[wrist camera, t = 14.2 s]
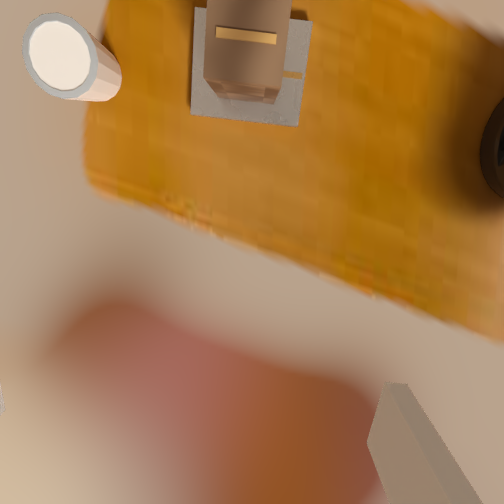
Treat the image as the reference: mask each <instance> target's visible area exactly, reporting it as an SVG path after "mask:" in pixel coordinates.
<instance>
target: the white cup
mask: <svg viewBox="0 0 504 504" xmlns="http://www.w3.org/2000/svg"><path fill="white" fill-rule="evenodd" d="M22 54H23V57H24V61H25V65H26V69H27V71H28V72H29V74H30V75H31V77H32V78H33V80H34V81H35V83H36V84H37V85H38V86H40V87H41V88H42V89H43V90H45V91H46V92H47V93H49V94H51V95H53V96H56V97H59V98H62V99H72V100H85V101H107V100H109V99H110V98H112V97H114V96H115V95H116V93H117V92H118V90H119V89H120V86H121V80H122V75H121V69H120V65H119V64H118V62H117V60H116V58H115V57H114V55H113V54H112V53H111V52H110V51H108V50H107V49H106V48H105V47H104V46H103V45H102V44H101V43H100V42H99V41H98V40H97V39H95V38H94V37H93V36H92V35H91V34H90V33H89V32H88V31H87V30H86V29H85V28H83V27H82V26H81V25H80V24H79V23H78V22H76V21H75V20H74V19H73V18H71V17H68V16H65V15H62V14H60V13H48V14H42V15H40V16H39V17H38V18H36V19H35V20H33V21H32V22H30V24H29V26H28V28H27V30H26V32H25V34H24V36H23V46H22Z"/></svg>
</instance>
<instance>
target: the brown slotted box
mask: <svg viewBox="0 0 504 504" xmlns="http://www.w3.org/2000/svg"><path fill="white" fill-rule="evenodd" d="M291 5H292V0H207V10H206V30H205V50H204V69H203V78H204V79H205V81H206V82H207V83H208V84H209V86H210V87H211V88H212V90H213V91H214V92H215V94H216V95H217V96H218V98H222V99H230V100H239V101H247V102H256V103H265V104H273V105H274V102H275V100H276V98H277V96H278V93H279V91H280V89H281V86H282V78H283V70H284V62H285V54H286V45H287V37H288V29H289V21H290V13H291Z"/></svg>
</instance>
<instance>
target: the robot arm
mask: <svg viewBox="0 0 504 504" xmlns="http://www.w3.org/2000/svg"><path fill="white" fill-rule="evenodd" d="M480 160H481V167H482V171H483V174H484V177H485V179H486V181H487V183H488V184H489V186H490V187H491V188H492V189H493V190H494V191H495V192H496V193H497V194H498V195H499V196H501V197H502V198H504V99H503V100H502V101H501V102H500V103H499V105H498V106H497V108H496V109H495V111H494V112H493V114H492V116H491V117H490V119H489V121H488V123H487V126H486V128H485V131H484V134H483V138H482V142H481V150H480ZM4 411H5V406H4V400H3V395H2V390H1V384H0V415H1V414H2V413H3V412H4ZM367 445H368V447H369V450H370V453H371V455H372V458H373V461H374V463H375V466H376V469H377V471H378V474H379V477H380V479H381V482H382V485H383V487H384V490H385V492H386V495H387V498H388V501H389V503H390V504H483V503H482V501H481V500H480V498H479V497H478V495H477V494H476V492H475V491H474V489H473V487H472V486H471V484H470V483H469V481H468V480H467V478H466V476H465V475H464V473H463V472H462V470H461V468H460V467H459V465H458V464H457V462H456V461H455V459H454V457H453V456H452V454H451V453H450V451H449V450H448V448H447V447H446V445H445V443H444V442H443V440H442V439H441V437H440V435H439V434H438V432H437V431H436V429H435V428H434V426H433V425H432V423H431V421H430V420H429V418H428V417H427V415H426V413H425V412H424V410H423V409H422V407H421V406H420V404H419V403H418V401H417V399H416V398H415V396H414V395H413V393H412V391H411V390H410V388H409V387H408V385H407V384H399V383H388V382H385V384H384V387H383V390H382V393H381V397H380V400H379V403H378V407H377V410H376V413H375V417H374V420H373V423H372V427H371V430H370V433H369V437H368V440H367Z"/></svg>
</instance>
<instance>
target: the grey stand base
mask: <svg viewBox="0 0 504 504" xmlns="http://www.w3.org/2000/svg"><path fill="white" fill-rule="evenodd" d="M206 10H207V8H199V7H195V17H194V41H193V66H192V91H191V115H193V116H201V117H210V118H219V119H227V120H236V121H245V122H253V123H262V124H271V125H279V126H288V127H298V121H299V114H300V107H301V100H302V93H303V86H304V79H305V72H306V65H307V58H308V51H309V44H310V37H311V30H312V23H313V21H305V20H297V19H290V21H289V29H288V37H287V45H286V54H285V62H284V70H283V78H282V86H281V89H280V91H279V93H278V96H277V98H276V100H275V102H274V105H273V104H265V103H256V102H247V101H239V100H230V99H222V98H218V96H217V95H216V94H215V92H214V91H213V90H212V88H211V87H210V86H209V84H208V83H207V82H206V81H205V79H204V78H203V69H204V50H205V30H206Z"/></svg>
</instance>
